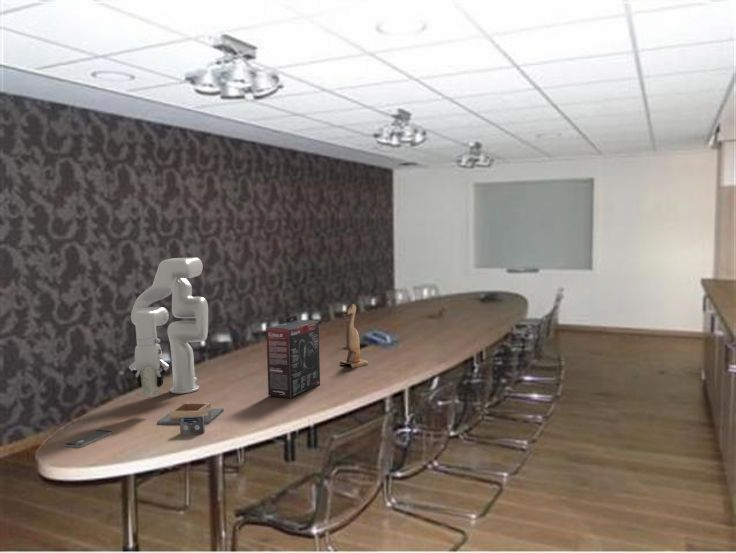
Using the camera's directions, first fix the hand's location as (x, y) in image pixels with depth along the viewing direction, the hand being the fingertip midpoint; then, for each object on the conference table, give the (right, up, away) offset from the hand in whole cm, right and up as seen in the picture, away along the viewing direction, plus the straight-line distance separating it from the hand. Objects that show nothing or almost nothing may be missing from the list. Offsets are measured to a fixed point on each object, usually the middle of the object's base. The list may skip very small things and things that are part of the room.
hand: (150, 385), depth 241 cm
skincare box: (0, -4, 0) cm, 4 cm away
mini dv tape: (+24, -13, -25) cm, 36 cm away
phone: (-12, -15, -27) cm, 33 cm away
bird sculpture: (+79, -3, +74) cm, 108 cm away
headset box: (+54, -7, +28) cm, 61 cm away
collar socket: (+18, -11, -6) cm, 22 cm away
